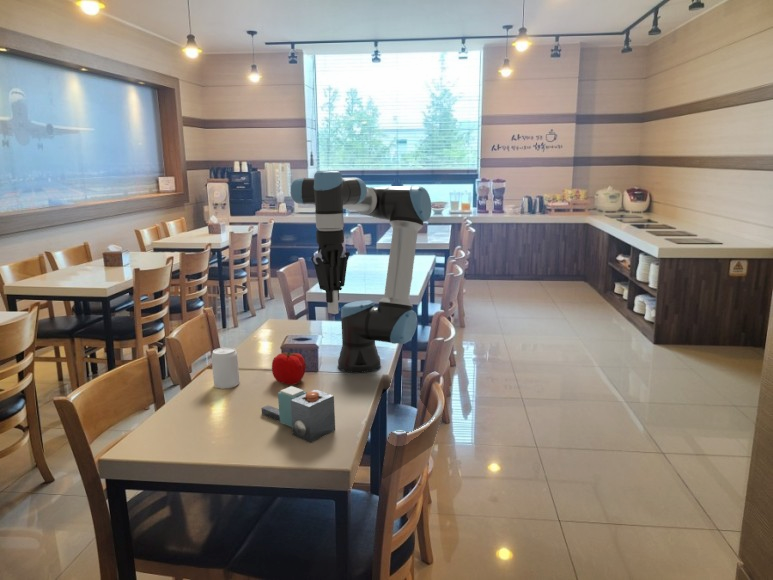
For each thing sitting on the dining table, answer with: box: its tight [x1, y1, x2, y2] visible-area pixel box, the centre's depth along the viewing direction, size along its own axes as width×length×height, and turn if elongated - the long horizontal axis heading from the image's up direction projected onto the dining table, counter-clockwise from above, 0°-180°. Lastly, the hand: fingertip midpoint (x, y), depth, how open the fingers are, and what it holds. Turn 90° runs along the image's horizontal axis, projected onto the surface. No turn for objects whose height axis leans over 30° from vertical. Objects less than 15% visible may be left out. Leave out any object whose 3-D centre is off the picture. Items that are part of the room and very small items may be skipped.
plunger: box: [306, 391, 319, 402], centre depth 148 cm, size 3×3×6 cm
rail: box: [261, 404, 280, 423], centre depth 157 cm, size 2×17×2 cm, turn 51°
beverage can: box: [211, 346, 241, 390], centre depth 183 cm, size 8×8×12 cm
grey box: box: [291, 389, 336, 444], centre depth 149 cm, size 9×7×10 cm
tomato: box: [271, 351, 306, 386], centre depth 186 cm, size 11×13×10 cm
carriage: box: [277, 385, 308, 428], centre depth 154 cm, size 5×6×9 cm
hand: (333, 312), depth 157 cm, fingers closed
